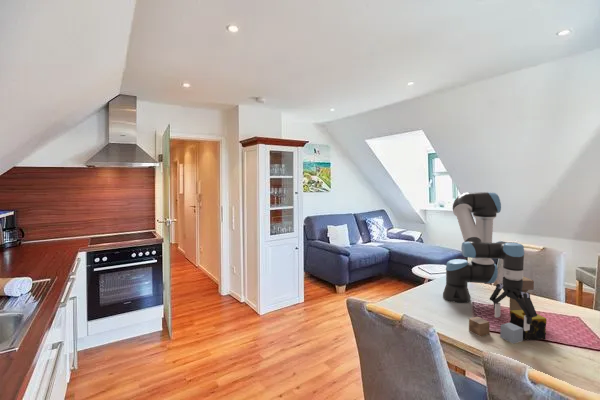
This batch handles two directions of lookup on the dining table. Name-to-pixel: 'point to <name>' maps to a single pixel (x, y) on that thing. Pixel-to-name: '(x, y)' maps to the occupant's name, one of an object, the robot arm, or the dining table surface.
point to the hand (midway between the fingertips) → (511, 323)
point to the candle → (535, 327)
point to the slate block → (511, 333)
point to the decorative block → (527, 285)
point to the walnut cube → (479, 326)
